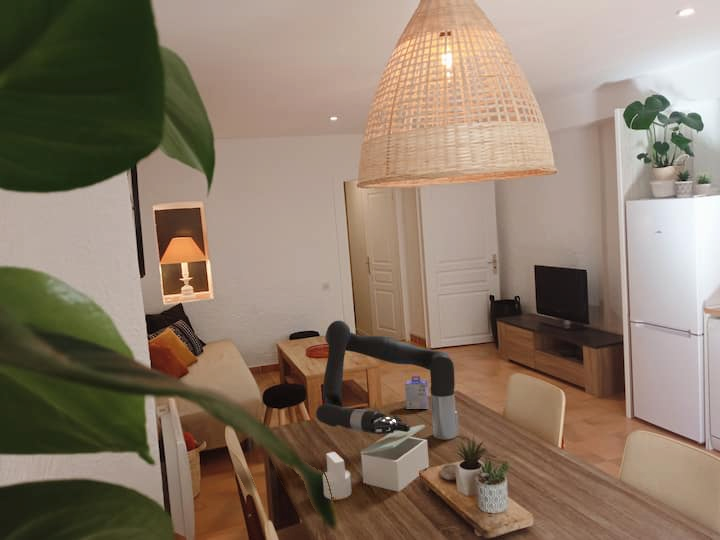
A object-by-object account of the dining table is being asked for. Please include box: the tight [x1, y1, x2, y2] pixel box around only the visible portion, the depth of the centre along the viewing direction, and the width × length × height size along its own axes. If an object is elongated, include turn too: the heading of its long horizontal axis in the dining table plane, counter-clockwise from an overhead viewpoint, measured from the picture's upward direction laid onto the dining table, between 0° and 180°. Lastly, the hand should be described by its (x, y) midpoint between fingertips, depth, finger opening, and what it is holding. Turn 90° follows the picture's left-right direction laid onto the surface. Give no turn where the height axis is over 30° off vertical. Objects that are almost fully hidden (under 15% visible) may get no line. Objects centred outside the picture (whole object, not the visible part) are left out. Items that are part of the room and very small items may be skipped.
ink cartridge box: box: [404, 375, 430, 410], centre depth 268 cm, size 10×6×14 cm, turn 78°
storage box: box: [360, 436, 430, 493], centre depth 200 cm, size 14×20×10 cm
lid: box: [360, 424, 426, 455], centre depth 200 cm, size 14×21×1 cm
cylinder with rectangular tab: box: [322, 451, 352, 500], centre depth 191 cm, size 9×9×12 cm
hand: (408, 428), depth 196 cm, fingers closed
